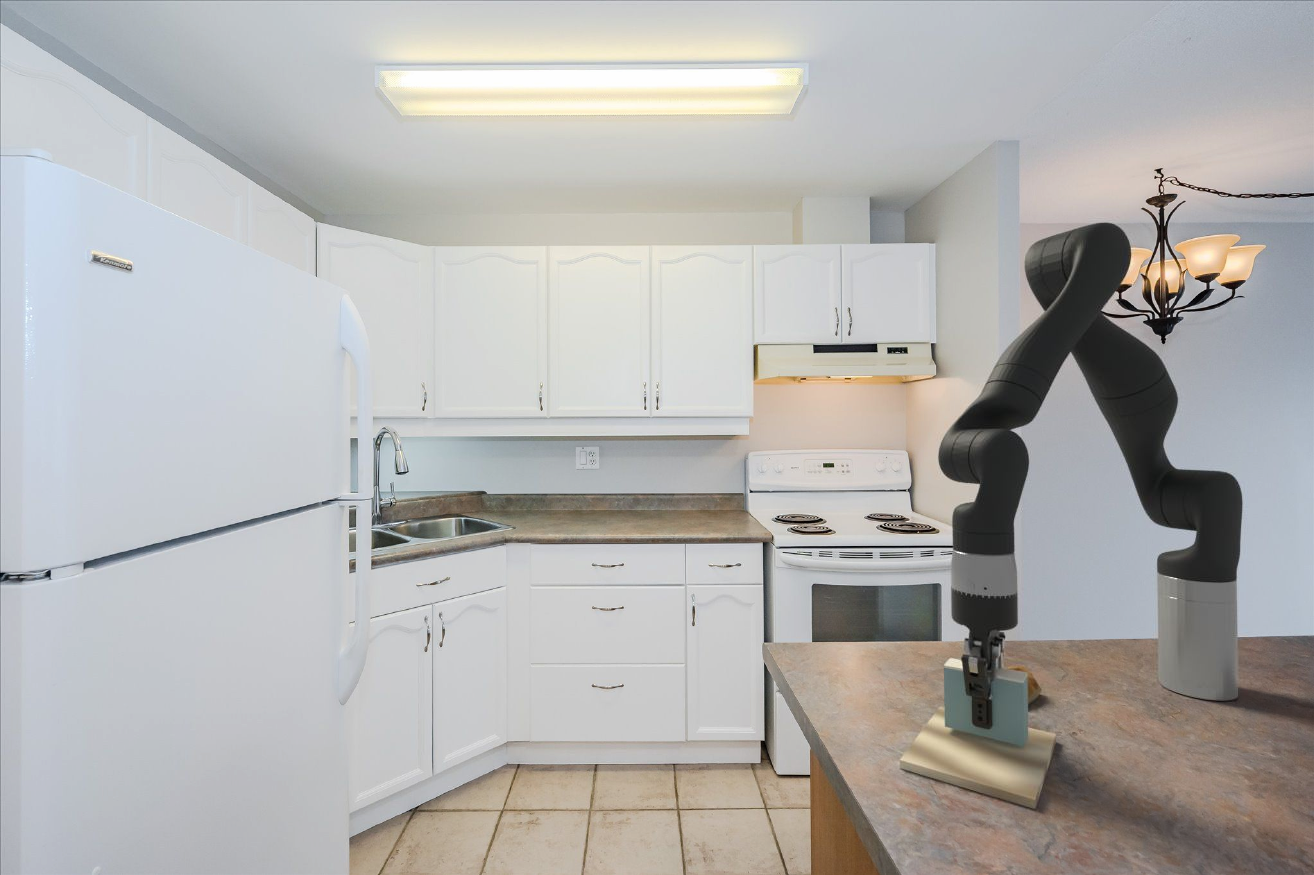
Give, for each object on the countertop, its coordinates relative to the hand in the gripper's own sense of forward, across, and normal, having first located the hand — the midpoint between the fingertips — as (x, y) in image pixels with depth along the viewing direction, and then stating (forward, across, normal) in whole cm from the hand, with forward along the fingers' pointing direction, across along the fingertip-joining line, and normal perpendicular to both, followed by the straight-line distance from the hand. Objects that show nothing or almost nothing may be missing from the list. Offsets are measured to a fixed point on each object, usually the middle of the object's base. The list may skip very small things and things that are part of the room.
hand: (985, 720), depth 81 cm
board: (+3, -3, 0) cm, 4 cm away
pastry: (+4, +18, 0) cm, 19 cm away
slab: (+1, 0, 0) cm, 1 cm away
